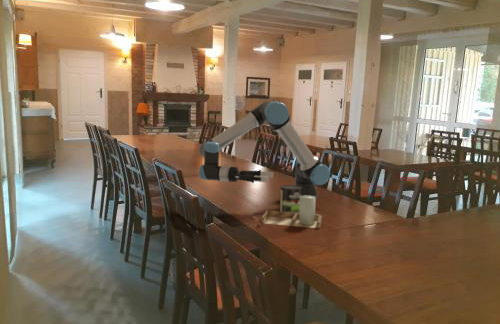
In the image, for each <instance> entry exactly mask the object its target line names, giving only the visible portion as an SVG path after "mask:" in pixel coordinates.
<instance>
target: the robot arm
mask: <svg viewBox="0 0 500 324" xmlns="http://www.w3.org/2000/svg"><path fill="white" fill-rule="evenodd" d="M291 120H292V117H291V116H290V114H289V109H288V107H287V106H286V104H284V102H280V101H277V100H273V101H263V102H262V103H260V104H259V105H257V106H256V107H255V108H253V109H251V110H250V111H249V112H248V114H247V115H246V116H245V117H243V118H241V119H240V120H238V121H237V122H235V123H234V124H233V125H231V126H230V127H228V128H227V129H225V130H223V131H222V132H220V133H219V134H217V135H215V136H214V137H213V138H211V139H209V140H208V141H206V142H203V143H202V144H200V145H199V146H198V154H199V155H200V156H201V157H202V158H203V160H204V162H203V164H201V165H200V166H199V170H198V176H199V179H201V180H205V181H217V182H220V181H221V182H223V183H225V182H231V183H237V181H245V182H250V183H251V184H252V183H253V184H254V183H255V182H257V183H268V182H269V178H272V179H273V178H274V171H262V169H259V170H241V171H239V167H236V166H225V165H220V164H219V163H220V162H219V160H220V151H221V150H222V149H224V148H225V147H227V146H228V145H230V144H231V143H233V142H234V141H237V140H238V139H239V138H240V137H242V136H244V135H245V134H247V133H248V132H249V131H251V130H253V129H255V128H259V127H261V126H263V125H265V124H268V126H269V127H270V128H271V130H272V131H273V132H277V134H278V135H279V136H280V137H281V139H282V141H283V142H284V144H285V145H286V146H287V147H288V149H289V150H290V152H291V153H292V155H293V156H294V157H295V159H296V160H295V174H294V175H295V177H294V185H295V186H300V187H302V189H301V196H304V195H308V196H314V197H316V199H317V198H318V192H317V187H316V186H322V185H324V184H326V183H327V182H328V180H329V179H330V175H331V170H330V169H329V167H328V166H327V165H326V164H323V162H322V161H321V160H320V158H319V157H318V156H316V155H314V154H313V153H312V151H311V150H310V148H309V147H308V145H306V143H305V141H304V139H302V137H301V135H300V134H299V133H298V131H297V130H296V129H295V127H294V125H293V124H292V122H291Z"/></svg>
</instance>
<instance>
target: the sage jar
mask: <svg viewBox="0 0 500 324" xmlns="http://www.w3.org/2000/svg"><path fill="white" fill-rule="evenodd" d="M316 200H317V198H316V197H314V196H308V195H304V196H300V205H299V224H301V225H307V226H309V225H314V224H315V214H316Z"/></svg>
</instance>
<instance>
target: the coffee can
mask: <svg viewBox="0 0 500 324" xmlns="http://www.w3.org/2000/svg"><path fill="white" fill-rule="evenodd" d="M301 189H302V187H300V186H295V184H286V185H285V184H284V185H281V186H280V198H279V199H280V204H279V205H280V206H279V211H280V212H293V213H299V205H300V196H301Z"/></svg>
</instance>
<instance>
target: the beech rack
mask: <svg viewBox="0 0 500 324" xmlns="http://www.w3.org/2000/svg"><path fill="white" fill-rule="evenodd" d="M260 219H261V221H260V226H262V227H264V224H266V225H278V226H289V227H290V226H291V227H300V228H313V229H321V226H322V225H321V224H322V222H323V221H322V219H323V215H322V214H316V213H315V224H314V225H309V226H307V225H301V224H299V213H293V212H280V210H279V211H278V210H266V211H265V212H264V213H263V215H262V216H261V218H260Z"/></svg>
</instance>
